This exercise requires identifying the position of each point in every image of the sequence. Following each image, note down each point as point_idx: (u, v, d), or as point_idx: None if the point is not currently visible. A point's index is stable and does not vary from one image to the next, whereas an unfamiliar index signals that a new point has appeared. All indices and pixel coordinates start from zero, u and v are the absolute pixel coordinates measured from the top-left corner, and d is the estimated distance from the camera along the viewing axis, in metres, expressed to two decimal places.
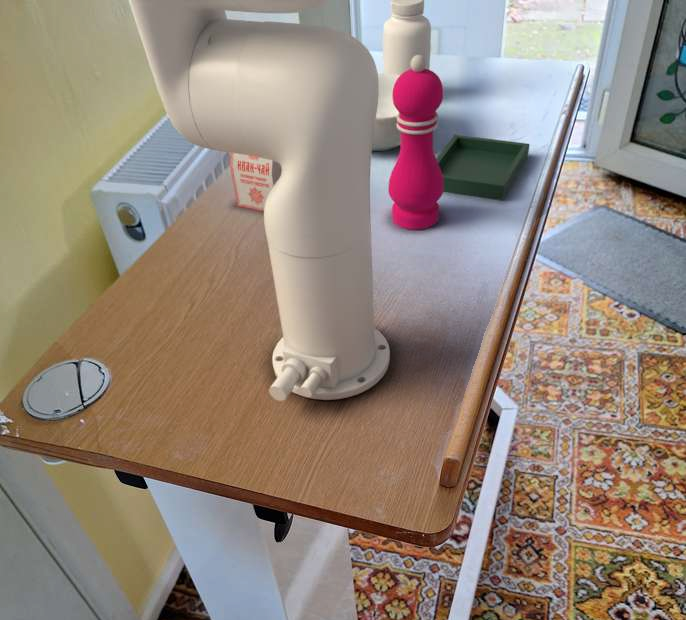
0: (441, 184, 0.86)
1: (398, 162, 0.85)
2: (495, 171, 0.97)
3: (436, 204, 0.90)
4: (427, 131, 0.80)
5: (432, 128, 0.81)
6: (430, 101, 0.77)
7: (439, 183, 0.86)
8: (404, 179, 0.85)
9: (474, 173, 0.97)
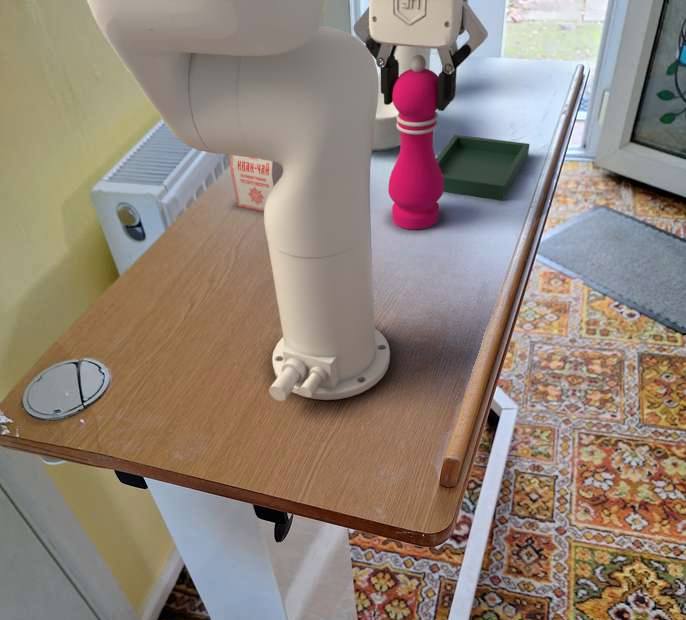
0: (441, 184, 0.86)
1: (398, 162, 0.85)
2: (495, 171, 0.97)
3: (436, 204, 0.90)
4: (427, 131, 0.80)
5: (432, 128, 0.81)
6: (429, 101, 0.77)
7: (439, 183, 0.86)
8: (404, 179, 0.85)
9: (474, 173, 0.97)
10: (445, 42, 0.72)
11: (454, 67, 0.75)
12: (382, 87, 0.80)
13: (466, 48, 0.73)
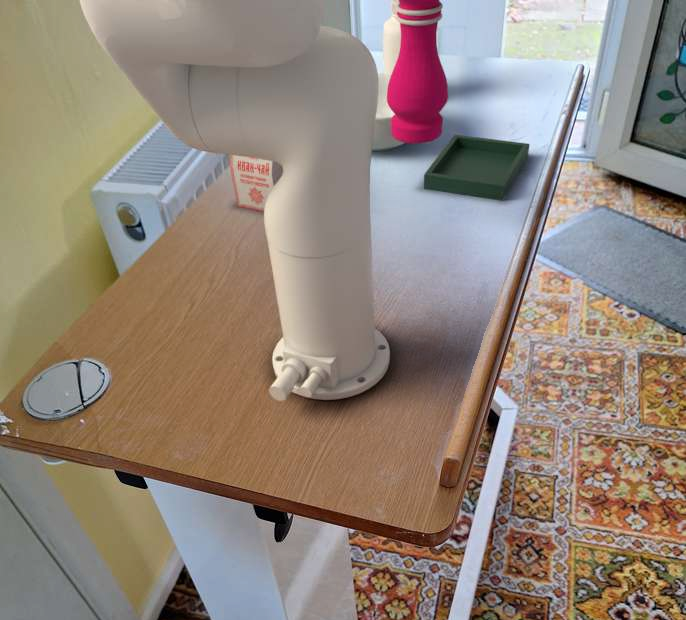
0: (445, 89, 0.77)
1: (398, 63, 0.76)
2: (495, 171, 0.97)
3: (440, 116, 0.81)
4: (430, 21, 0.72)
5: (436, 19, 0.72)
6: None
7: (444, 87, 0.77)
8: (404, 81, 0.76)
9: (474, 173, 0.97)
10: None
11: None
12: None
13: None
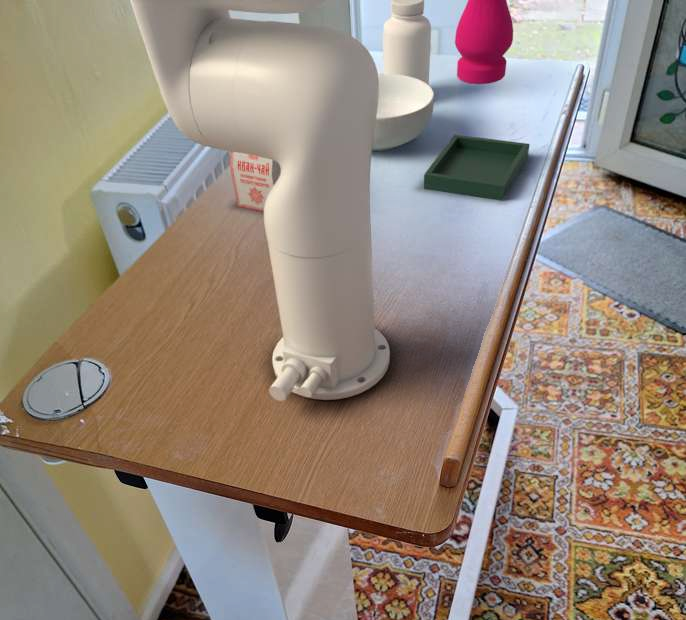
0: (511, 31, 0.83)
1: (468, 6, 0.81)
2: (495, 171, 0.97)
3: (503, 58, 0.86)
4: None
5: None
6: None
7: (510, 29, 0.82)
8: (474, 23, 0.81)
9: (474, 173, 0.97)
10: None
11: None
12: None
13: None
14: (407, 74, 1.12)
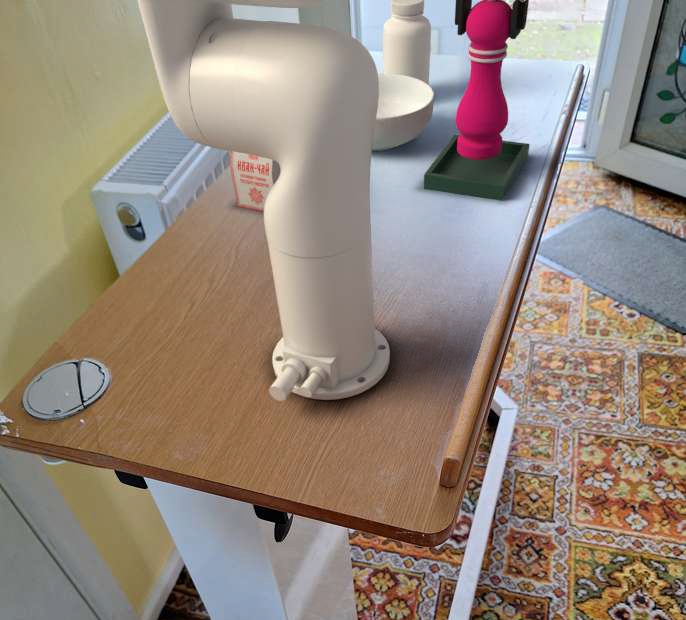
0: (507, 114, 0.91)
1: (467, 92, 0.90)
2: (495, 171, 0.97)
3: (500, 136, 0.95)
4: (498, 59, 0.85)
5: (502, 57, 0.86)
6: (503, 29, 0.82)
7: (505, 112, 0.91)
8: (473, 108, 0.90)
9: (474, 173, 0.97)
10: None
11: None
12: (456, 18, 0.85)
13: None
14: (407, 74, 1.12)
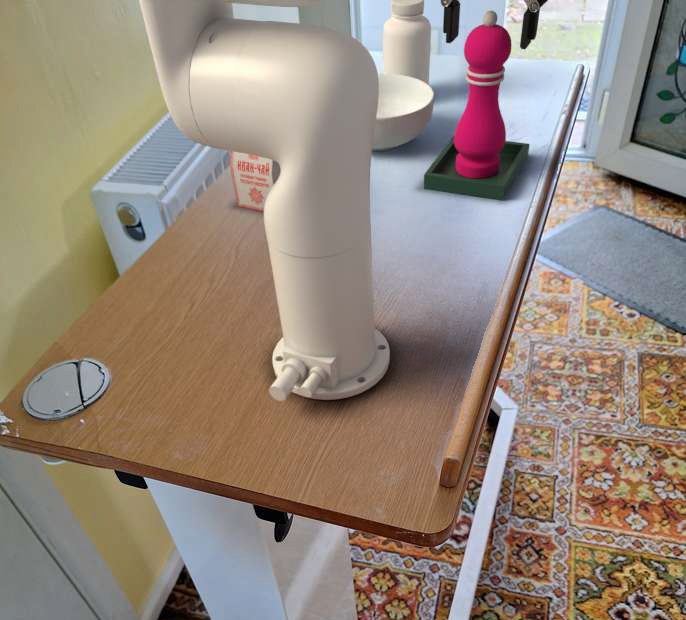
0: (504, 135, 0.93)
1: (465, 113, 0.92)
2: None
3: (497, 155, 0.96)
4: (495, 83, 0.87)
5: (500, 80, 0.88)
6: (500, 54, 0.84)
7: (503, 133, 0.93)
8: (471, 129, 0.91)
9: None
10: None
11: (539, 5, 0.80)
12: (444, 26, 0.86)
13: None
14: (407, 74, 1.12)
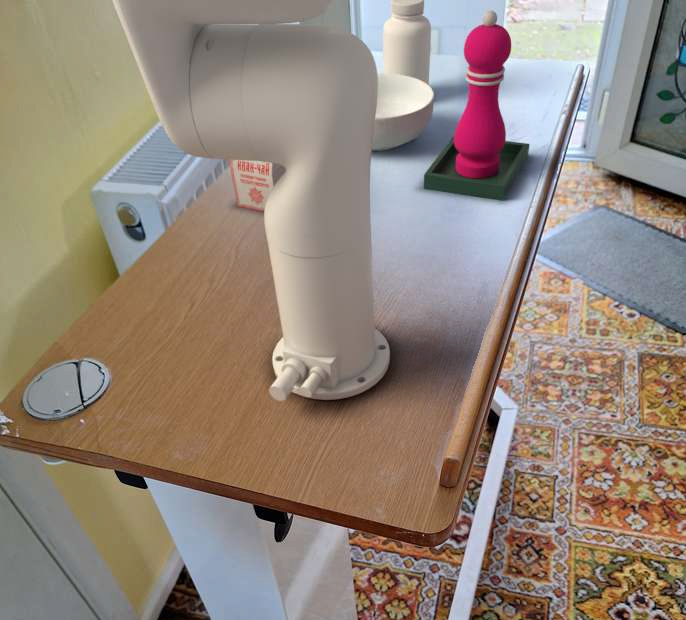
0: (504, 135, 0.93)
1: (465, 113, 0.92)
2: None
3: (497, 155, 0.96)
4: (495, 83, 0.87)
5: (500, 80, 0.88)
6: (500, 54, 0.84)
7: (503, 133, 0.93)
8: (471, 129, 0.91)
9: None
10: None
11: None
12: None
13: None
14: (407, 74, 1.12)
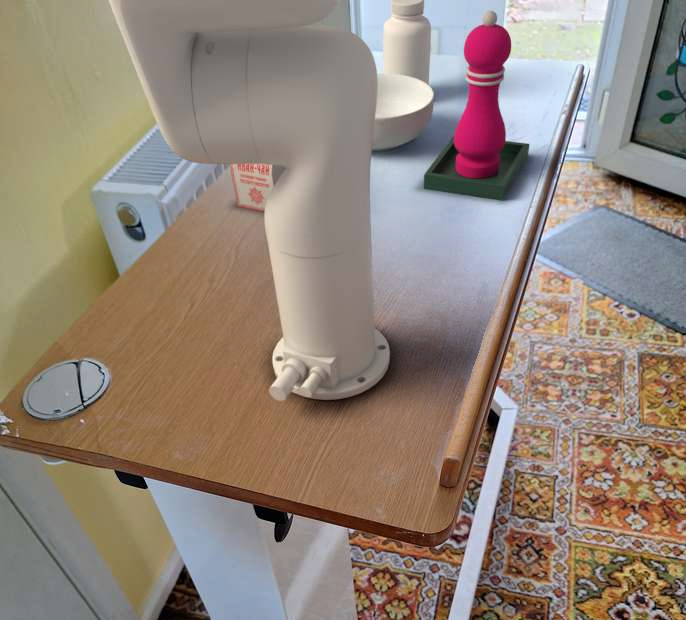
0: (504, 135, 0.93)
1: (465, 114, 0.92)
2: None
3: (497, 155, 0.96)
4: (495, 83, 0.87)
5: (500, 80, 0.88)
6: (500, 54, 0.84)
7: (503, 133, 0.93)
8: (471, 129, 0.91)
9: None
10: None
11: None
12: None
13: None
14: (407, 74, 1.12)
